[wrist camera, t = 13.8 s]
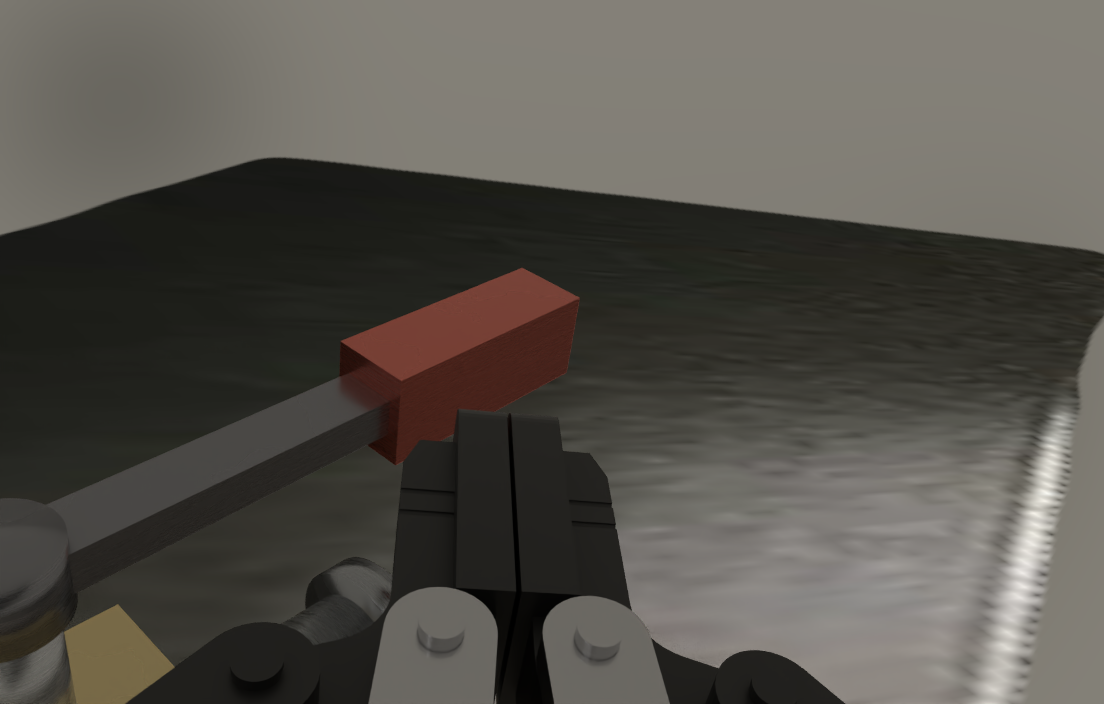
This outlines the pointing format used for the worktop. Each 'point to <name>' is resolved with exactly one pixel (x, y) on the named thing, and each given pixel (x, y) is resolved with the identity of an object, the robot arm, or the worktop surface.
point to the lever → (285, 444)
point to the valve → (135, 662)
